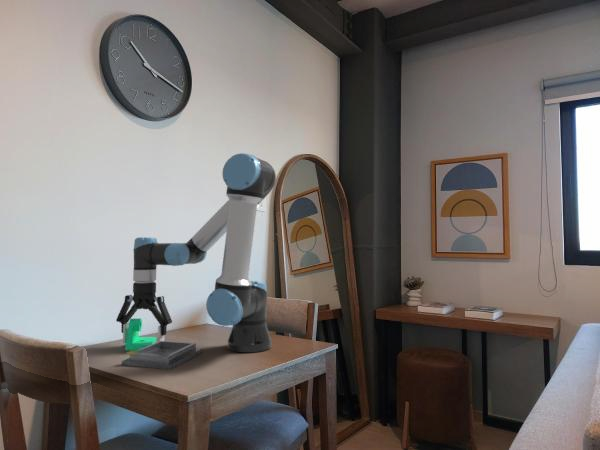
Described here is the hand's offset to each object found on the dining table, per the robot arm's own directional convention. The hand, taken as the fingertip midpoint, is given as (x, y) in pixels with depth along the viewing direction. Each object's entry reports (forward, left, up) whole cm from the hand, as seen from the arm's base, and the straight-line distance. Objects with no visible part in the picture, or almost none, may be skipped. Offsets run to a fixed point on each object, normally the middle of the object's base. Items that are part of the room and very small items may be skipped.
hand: (143, 343), depth 148 cm
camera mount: (0, 0, -2) cm, 2 cm away
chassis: (-14, +10, -1) cm, 17 cm away
